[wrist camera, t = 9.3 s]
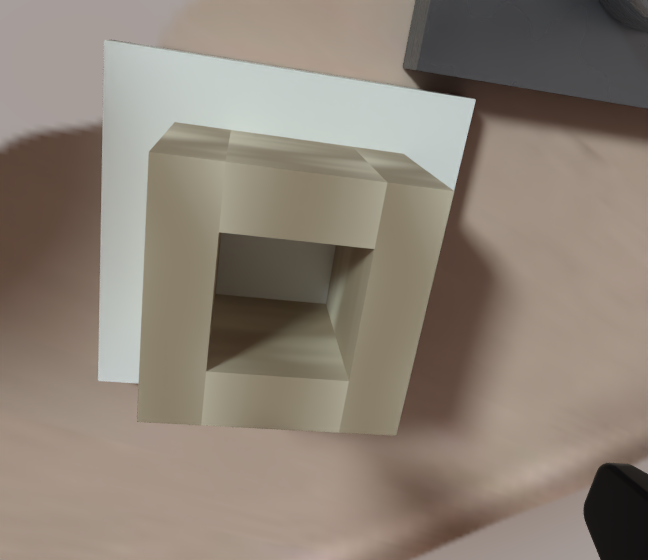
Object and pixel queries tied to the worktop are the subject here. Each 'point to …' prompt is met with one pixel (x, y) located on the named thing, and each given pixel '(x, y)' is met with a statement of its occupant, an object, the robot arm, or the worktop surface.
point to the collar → (282, 315)
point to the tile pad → (248, 116)
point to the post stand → (537, 45)
